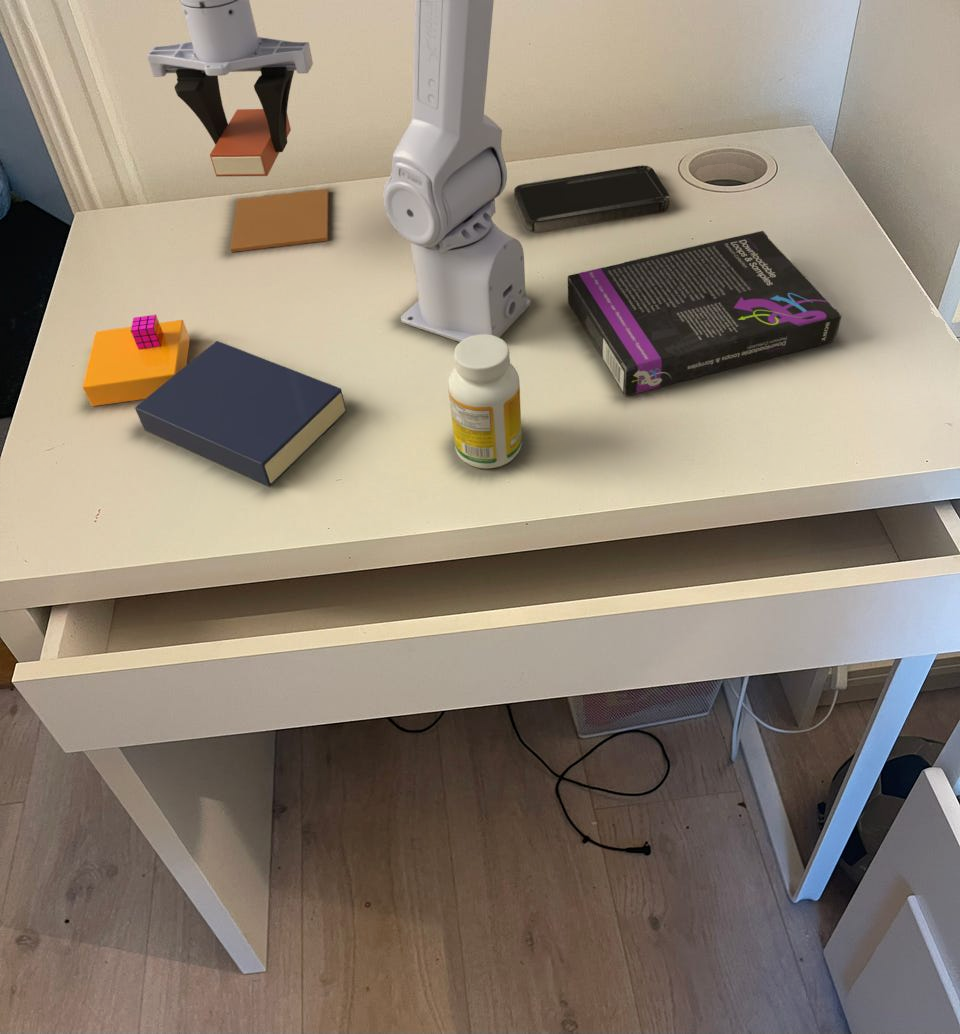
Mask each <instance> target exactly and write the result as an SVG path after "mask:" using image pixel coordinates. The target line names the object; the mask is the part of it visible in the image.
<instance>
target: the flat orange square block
mask: <svg viewBox="0 0 960 1034" xmlns="http://www.w3.org/2000/svg"><path fill="white" fill-rule="evenodd" d="M131 323H132V324H131V326H126V327H119V328H113V329H112V328H111V329H105V330H103V329H102V330H97V331H95V332H94V337H93V340H92V344H91V345H92V346H91V350H90V353H89V358H88V362H87V366H86V369H85V374H84V379H83V383H82V389H83V391H84V394H85V396H86V398H87V400H88V401H89V403H90V406H91V407H96V406H104V405H111V404H118V403H126V402H132V401H139V400H145V399H146V398H147V397H148V396H150V395H151V394H152V393H153V392H154V391H156V390H157V389H158V388H159V387H161V386H162V385H163V384H164V383H165V382H167V381H168V380H169V379H170V378H172V377H173V376H174V375H175V374H177V373H178V372H179V371H180V370H181V369H183V368H184V367H185V366H186V365H188V363H187V362H188V355H189V348H190V341H191V338H190V335H189V332H188V330H187V327H186V324H185V321H184V319H177V320H170V321H164V322H163V321H162V322H160V321H159V319H158V316H157V314H151V315H150V314H149V315H142V316H135V317H133V318H132V322H131Z"/></svg>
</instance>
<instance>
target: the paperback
mask: <svg viewBox="0 0 960 1034" xmlns="http://www.w3.org/2000/svg"><path fill="white" fill-rule="evenodd" d="M291 128H292V127H291V124H290V119H289V116H288V114H287V121H286V130H287V138H288V137H289V135H290V133H291V130H292V129H291ZM279 154H280V152H276V151H275V149H274V146H273V143H272V140H271V136H270V131H269V126H268V122H267V119H266V116H265V113H264V110H263V108H247V109H246V108H241V109H236V110H235V112H234V113H233V115H232V117H231V118H230V120H229V122H228V125H227V127H226V129H225V130H224V132H223V134H222V135H221V137H220V139H219V140H218V142H217V144H216V145H215V144H214V147H213V149H212V150H211V152H210V154H209V157H210V160H211V164H212V167H213V170H214V174H215V177H219V178H221V177H222V178H223V177H268V176H269V174H270V172H271V170H272V168H273V166H274V164H275V162H276V160H277V158H278V156H279Z"/></svg>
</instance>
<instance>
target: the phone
mask: <svg viewBox="0 0 960 1034" xmlns="http://www.w3.org/2000/svg"><path fill="white" fill-rule="evenodd" d="M513 194H514V202H515V205H516V207H517V210H518V213H519V215H520V217H521V220H522V222H523V225H524V228H525V229H526V230H527V231H528V232H532V233H541V232H545V231H552V230H558V229H565V228H569V227H570V228H573V227H576V226H584V225H589V224H595V223H603V222H609V221H614V220H621V219H627V218H632V217H639V216H645V215H650V214H657V213H663V212H666V211H667V210H669V208H670V200H671V196H670V194H669V192H668V191H667V189H666V187H665V186H664V184H663V182H662V181H661V179H660V178H659V176H658V174H657V173H656V172H655V170H654V168H653V167H651V166H649V165H644V164H643V165H642V164H641V165H636V166H635V165H634V166H629V167H623V168H622V167H621V168H617V169H616V168H615V169H609V170H603V171H597V172H591V173H584V174H578V175H572V176H565V177H559V178H553V179H547V180H541V181H535V182H534V181H533V182H528V183H522V184H518V185H516V186H515V187H514V189H513Z"/></svg>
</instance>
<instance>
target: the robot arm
mask: <svg viewBox="0 0 960 1034" xmlns="http://www.w3.org/2000/svg"><path fill="white" fill-rule="evenodd" d="M179 2H180V6H181V9H182V12H183V16H184V19H185V23H186V26H187V30H188V33H189V38H190V41H188V42H181V43H176V44H175V43H174V44H167V45H155V46H153V47H152V48H151V50H150V51H149V52H148V54H147V55H146V58H147V61H148V65H149V67H150V70H151V73H152V77H153V78H159V77H160V78H162V77H165V76H166V75H167V74H176V75H175V76H176V81H177V83H176V84H175V85H174V91H175V93H176V95H177V97H178V98H179V99H181V100H182V101H183V102H184V103H185V104H186V105H187V106H188V108H189V109H190V110H191V111H192V112H193V113H194V114H195V116H196V117H197V118H198V119H199V121H200V123H201V124H202V125H203V127H204V128H205V129H206V132H207V133H208V135H209V136H210V138H211V139H212V142H213V143H214V146H215V145H216V144H217V142H218V140H219V139H220V137H221V135H222V134H223V132H224V130H225V129H226V127H227V125H228V124H229V122H228V120H227V116H226V112H225V109H224V105H223V101H222V96H221V89H220V82H219V77H221V76H227V75H228V74H229V73H238V72H240V73H241V72H243V73H244V72H260V73H261V74H260V76H258V78H257V80H256V81H255V83H254V85H253V89H254V91H255V93H256V96H257V98H258V99H259V102H260V105H261V108H262V109H263V110H264V113H265V116H266V119H267V122H268V126H269V131H270V136H271V140H272V143H273V146H274V149H275V151H276V152H279V153H283V152H284V150H285V148H286V146H287V144H288V137H287V130H286V121H287V115H288V104H289V97H290V91H291V87H292V81H293V78H294V73H295V71H296V73H297V74H309V72H310V70H311V69H312V66H313V65H314V63H313V58H312V56H313V55H312V51H311V46H310V42H309V41H290V40H282V39H276V38H269V37H262V36H258V31H257V28H256V27H257V26H256V23H255V19H254V15H253V11H252V5H251V2H250V0H179ZM494 2H495V0H414V27H413V28H414V32H413V37H414V38H413V72H412V73H413V74H412V75H413V78H412V79H413V82H412V118H411V120H410V122H409V125H408V127H407V128H406V130H405V132H404V133H403V136H402V137H401V139H400V140H399V143H398V144H397V146H396V148H395V150H394V152H393V154H392V167H391V173H390V176H389V177H388V179H387V181H386V182H385V183H384V187H383V192H382V196H383V197H382V200H383V206H384V209H385V212H386V215H387V217H388V220H389V222H390V223H391V225H392V226H393V227H394V229H395V230H396V231H397V232H398V233H399V234H400V236H402V237H403V239H404V240H406V241H408V242H410V250H411V257H412V261H413V262H412V263H413V272H414V277H415V284H416V285H415V286H416V291H417V297H418V298H417V299H418V300H417V301H416V302H415V303H414V304H413V305H412V306H411V307H410V308H408V309H407V311H405V312H404V313H403V314H402V315H401V316H400V321H401V323H403V324H405V325H408V326H411V327H414V328H417V329H420V330H423V331H426V332H429V333H432V334H435V335H438V336H441V337H444V338H447V339H450V340H452V341H456V342H458V343H460V342H461V341H462V340H464V339H466V338H468V337H470V336H473V335H480V334H487V335H493V336H496V337H499V338H501V337H502V335H503V334H504V333H505V332H506V331H507V330H508V329H509V328H510V327H511V326H512V325H513V324H514V323H515V322H516V321H517V320H518V319H519V318H520V317H521V315H522V314H523V313H524V312H525V311H526V310H527V309H528V308H529V307H530V306H531V299H530V298H528V297H526V295H527V294H526V274H525V273H526V271H525V254H524V248H523V245H522V243H521V242H520V240H518V239H517V238H515V237H513V236H511V235H509V234H508V233H506V232H504V231H503V230H501V228H499V227H498V226H497V225H496V223H495V222H494V221H493V216H494V214H496V201H495V200H496V198H498V197H499V196H501V195H502V194H503V192H504V190H505V188H506V185H507V181H508V168H507V165H506V161H505V158H504V154H503V151H502V137H503V129H502V127H500V126H499V125H498V124H497V123H496V122H495V121H494V120H493V119H492V118H490V117H489V116H487V115H486V114H485V104H486V93H487V82H488V73H489V72H488V71H489V70H488V69H489V60H490V50H491V49H490V48H491V36H492V24H493V13H494Z"/></svg>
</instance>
